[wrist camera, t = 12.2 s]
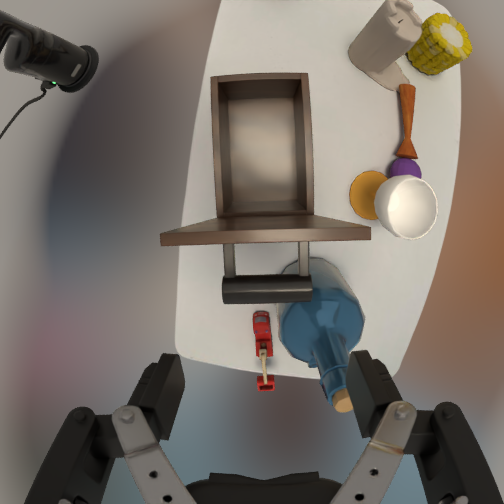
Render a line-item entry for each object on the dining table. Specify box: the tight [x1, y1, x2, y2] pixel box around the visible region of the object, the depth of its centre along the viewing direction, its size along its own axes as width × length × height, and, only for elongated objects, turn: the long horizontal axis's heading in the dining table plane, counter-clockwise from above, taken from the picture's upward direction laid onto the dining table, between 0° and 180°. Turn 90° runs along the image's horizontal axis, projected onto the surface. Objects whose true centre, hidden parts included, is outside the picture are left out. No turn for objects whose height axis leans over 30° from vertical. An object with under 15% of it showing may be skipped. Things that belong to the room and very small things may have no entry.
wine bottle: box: [276, 258, 365, 412], centre depth 39 cm, size 14×13×30 cm
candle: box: [348, 0, 422, 93], centre depth 30 cm, size 7×14×20 cm, turn 57°
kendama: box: [390, 84, 421, 179], centre depth 41 cm, size 6×6×20 cm
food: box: [407, 13, 472, 75], centre depth 31 cm, size 15×12×10 cm
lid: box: [160, 215, 371, 304], centre depth 27 cm, size 21×13×5 cm
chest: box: [211, 73, 314, 218], centre depth 40 cm, size 20×13×12 cm, turn 2°
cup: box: [349, 171, 438, 240], centre depth 40 cm, size 9×9×16 cm
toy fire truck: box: [253, 312, 275, 391], centre depth 52 cm, size 3×14×10 cm, turn 6°
